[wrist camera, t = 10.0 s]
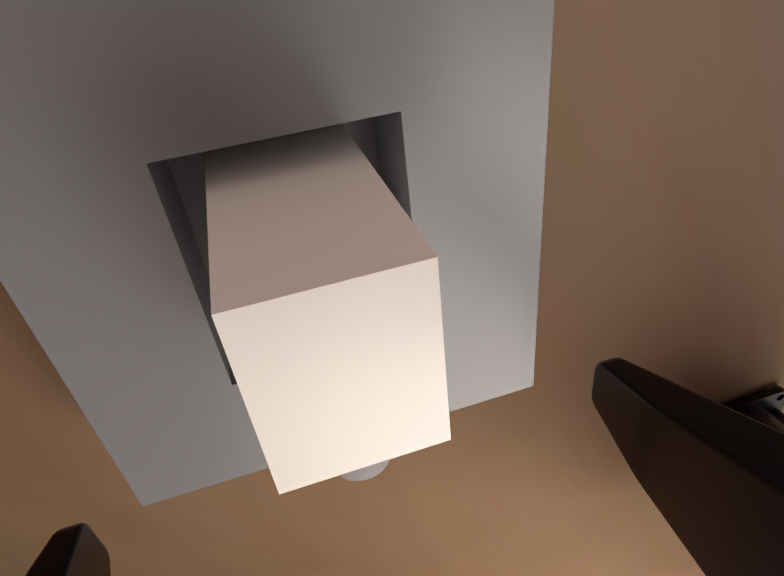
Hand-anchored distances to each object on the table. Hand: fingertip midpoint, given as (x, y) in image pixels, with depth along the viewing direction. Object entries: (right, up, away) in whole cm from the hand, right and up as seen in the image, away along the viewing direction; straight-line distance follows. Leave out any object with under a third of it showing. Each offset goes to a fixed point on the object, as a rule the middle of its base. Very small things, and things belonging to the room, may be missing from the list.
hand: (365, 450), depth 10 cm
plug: (-3, +5, +8) cm, 10 cm away
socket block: (-3, +5, +8) cm, 10 cm away
